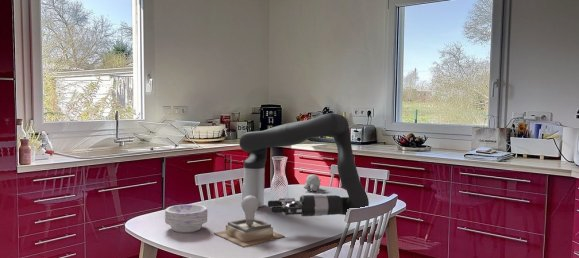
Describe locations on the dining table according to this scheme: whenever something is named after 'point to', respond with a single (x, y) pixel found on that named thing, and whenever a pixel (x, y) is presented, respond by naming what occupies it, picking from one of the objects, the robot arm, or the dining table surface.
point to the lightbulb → (250, 208)
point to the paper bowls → (186, 217)
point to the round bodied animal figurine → (312, 183)
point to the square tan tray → (248, 232)
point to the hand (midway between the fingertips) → (269, 206)
